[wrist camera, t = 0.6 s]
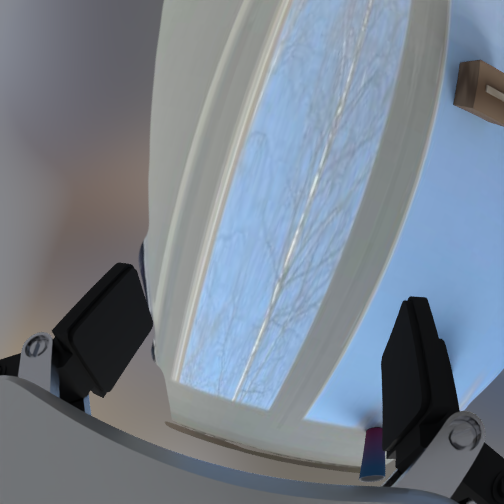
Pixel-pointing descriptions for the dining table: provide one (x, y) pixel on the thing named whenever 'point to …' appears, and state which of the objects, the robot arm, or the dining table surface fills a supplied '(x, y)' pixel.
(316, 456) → the dining table surface
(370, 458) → the cup
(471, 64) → the lettered block
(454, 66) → the dining table surface
